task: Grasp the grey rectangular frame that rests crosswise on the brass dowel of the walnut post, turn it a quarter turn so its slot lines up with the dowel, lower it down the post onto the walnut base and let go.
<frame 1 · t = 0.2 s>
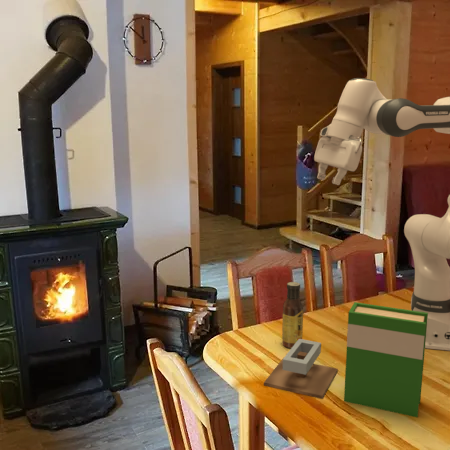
hand: (327, 181, 154), 52 cm above the table, tool tilted 20°, fingers open, 8 cm apart
post fixture: (301, 378, 149), on the table
grey rectangular frame: (302, 360, 148), point 5 cm above the table, touching post fixture
hardback book: (382, 402, 137), on the table
sauce bottle: (292, 345, 170), on the table
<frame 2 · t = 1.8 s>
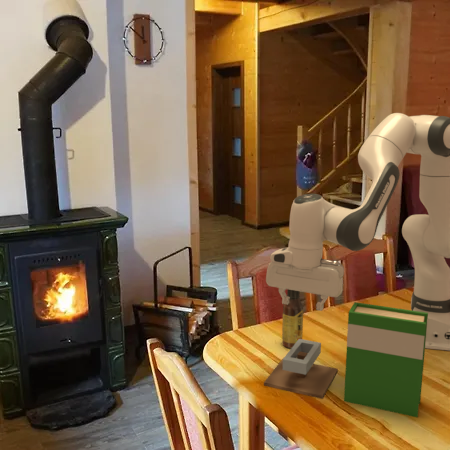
hand: (302, 306, 145), 21 cm above the table, tool pointing down, fingers open, 8 cm apart
nothing on the table moved.
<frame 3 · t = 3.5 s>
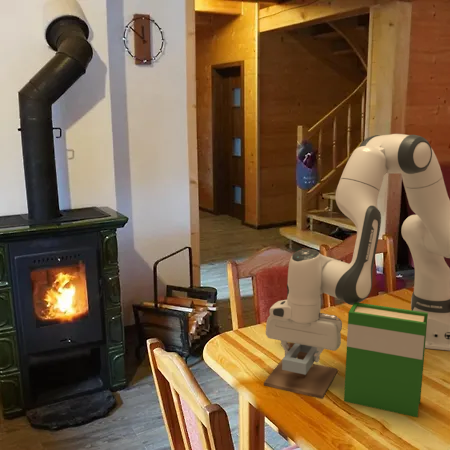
hand: (301, 358, 148), 6 cm above the table, tool pointing down, fingers closed on grey rectangular frame, 6 cm apart
grey rectangular frame: (301, 360, 148), point 5 cm above the table, touching gripper, post fixture
hardback book: (381, 402, 137), on the table, touching arm
everything else where it was.
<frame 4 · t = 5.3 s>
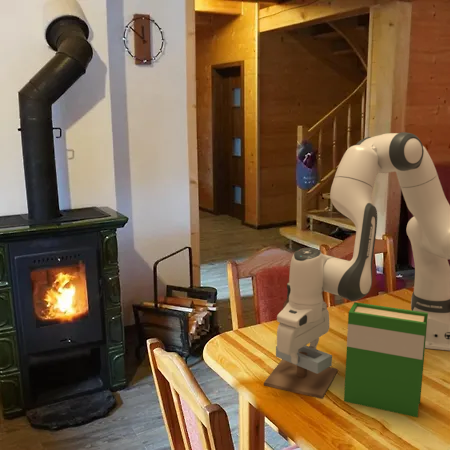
hand: (303, 357, 147), 6 cm above the table, tool pointing down, fingers closed on grey rectangular frame, 6 cm apart
grey rectangular frame: (303, 361, 148), point 5 cm above the table, touching gripper
hardback book: (381, 402, 137), on the table
everything else where it was.
when the fingers open (3 cm above the table, at t = 7.1 s): grey rectangular frame stays where it is, resting on post fixture.
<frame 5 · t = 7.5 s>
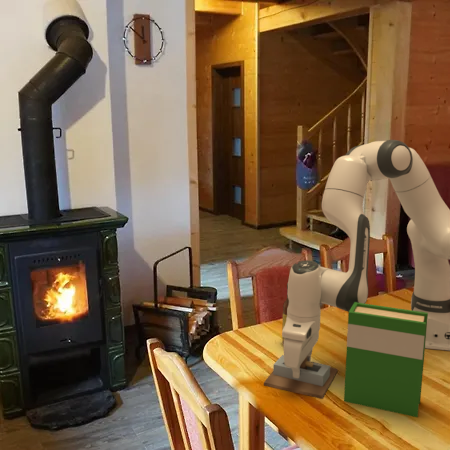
hand: (302, 369, 148), 3 cm above the table, tool pointing down, fingers open, 8 cm apart
grey rectangular frame: (301, 375, 149), point 1 cm above the table, touching post fixture
everything else where it was.
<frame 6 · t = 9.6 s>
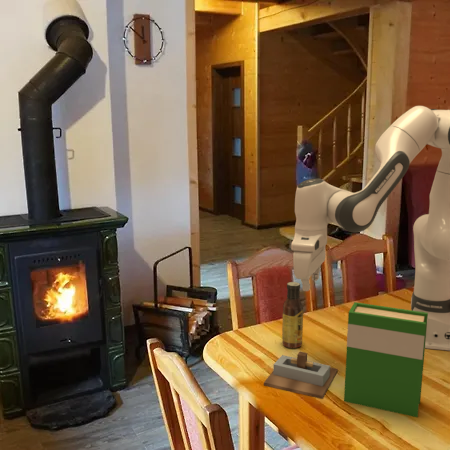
hand: (310, 284, 154), 23 cm above the table, tool pointing down, fingers open, 8 cm apart
nothing on the table moved.
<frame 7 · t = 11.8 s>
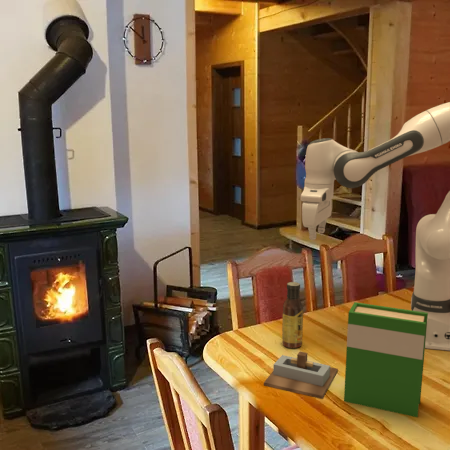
hand: (317, 235, 169), 33 cm above the table, tool pointing down, fingers open, 8 cm apart
nothing on the table moved.
at the end: grey rectangular frame point 0.8 cm above the table; grey rectangular frame 0.1 cm from the post fixture (horizontally); the gripper is holding nothing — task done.
